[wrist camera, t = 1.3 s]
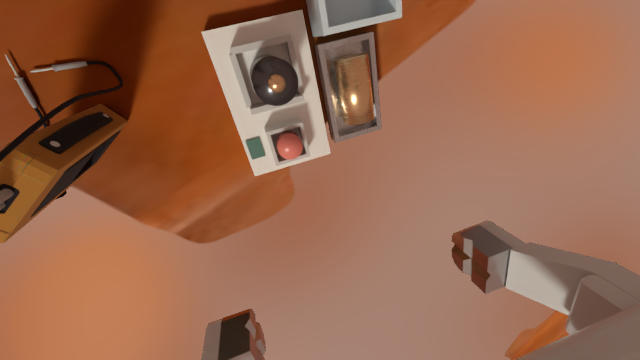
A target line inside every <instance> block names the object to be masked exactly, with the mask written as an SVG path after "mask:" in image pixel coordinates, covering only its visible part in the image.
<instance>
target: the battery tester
mask: <svg viewBox="0 0 640 360" xmlns="http://www.w3.org/2000/svg"><path fill="white" fill-rule="evenodd" d="M201 33H202V35H203V38H204V41H205V43H206V46H207V49H208V51H209V54H210V57H211V59H212V62H213V65H214V68H215V70H216V73H217V76H218V78H219V81H220V84H221V86H222V89H223V92H224V94H225V97H226V100H227V103H228V105H229V108H230V111H231V113H232V116H233V119H234V121H235V124H236V127H237V129H238V132H239V135H240V137H241V140H242V143H243V146H244V148H245V151H246V154H247V156H248V159H249V162H250V164H251V167H252V170H253V172H254V175H255V176H258V175H261V174H265V173H268V172H271V171H275V170H278V169H281V168H284V167H288V166H291V165H294V164H298V163H301V162H304V161H308V160H311V159H314V158H317V157H321V156H324V155H327V154H330V148H329V143H328V138H327V133H326V127H325V122H324V117H323V112H322V107H321V102H320V97H319V92H318V87H317V82H316V76H315V71H314V66H313V61H312V56H311V51H310V46H309V41H308V36H307V31H306V25H305V20H304V15H303V10H298V11H293V12H289V13H284V14H280V15H275V16H271V17H266V18H262V19H257V20H253V21H248V22H244V23H239V24H235V25H230V26H226V27H221V28H217V29H212V30H207V31H203V32H201ZM261 55H273V56H275V57H278V58H280V59H283V60H285V61H287V62H288V63H289V64H291V65H292V67H293V68H294V69H295V71H296V73H297V76H298V90H297V92H296V94H295V96H294V98H293V99H292V100H291V101H290V102H288V103H286V104H284V105H281V106H272V105H269V104H267V103H265V102H263V101H262V100H261V99H260V98H259V97H258V96H257V94H256V93H255V90H254V88H253V84H252V81H251V78H250V67H251V64H252V63H253V61H254V60H255V59H256V58H257V57H259V56H261ZM284 131H292V132H294V133H296V134H297V135H298V137H299V138H300V140H301V141H302V144H303V150H302V153H301V154H300V155H299V156H298V157H297V158H295V159H291V160H289V159H285V158H283V157H282V156H281V155H280V154H279V152H278V149H277V146H276V139H277V137H278V135H279V134H280V133H282V132H284Z"/></svg>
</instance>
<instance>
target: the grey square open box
mask: <svg viewBox="0 0 640 360" xmlns="http://www.w3.org/2000/svg"><path fill="white" fill-rule="evenodd" d="M306 3H307V8H308V14H309V19H310V24H311V30H312V35H313V37H317V36H326V35H330V34H335V33H339V32H343V31H347V30H351V29H356V28H360V27H364V26H368V25H372V24H377V23H381V22H385V21H389V20H393V19H398V18H402V1H401V0H306Z"/></svg>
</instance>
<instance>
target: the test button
mask: <svg viewBox="0 0 640 360" xmlns="http://www.w3.org/2000/svg"><path fill="white" fill-rule="evenodd" d="M276 146H277V149H278V152H279V154H280V155H281V156H282V157H283V158H285V159H289V160H291V159H295V158H297V157H298V156H299V155H300V154H301V153H302V150H303V144H302V141H301V140H300V138H299V137H298V135H297V134H296V133H294V132H292V131H284V132H282V133H280V134H279V135H278V137H277V139H276Z"/></svg>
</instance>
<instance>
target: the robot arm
mask: <svg viewBox="0 0 640 360" xmlns="http://www.w3.org/2000/svg"><path fill="white" fill-rule="evenodd" d="M452 242H453V243H454V244H455V245H454V247H453V248H452V258H453V260H454V263H455V264H456V266H457V267H458V268H459V269H460V270H461V271H462V272H463V273H465V274H468V275H471V280H472V282H473V283H474V284H475V285H476V286H477V287H478V288H479V289H481V290H482V291H483V292H484V293H485V294H486V293H489V292H491V291H494V290H497V289H500V288H502V287H505V286H506V288H508V289H510V290H512V291H514V292H517V293H519V294H521V295H523V296H525V297H528V298H530V299H532V300H534V301H537V302H539V303H541V304H543V305H546V306H548V307H550V308H552V309H555V310H557V311H559V312H561V313H564V314H566V315H568V320H567V323H566V331H567V332H568V333H569V334H570V335H568V336H566V337H564V338H561V339H559V340H557V341H555V342H553V343H550V344H548V345H546V346H544V347H542V348H540V349H537V350H535V351H533V352H531V353H529V354H526V355H524V356H522V357H520V358H518V359H516V360H640V275H638V274H636V273H634V272H632V271H630V270H628V269H626V268H625V267H623V266H621V265H619V264H617V263H615V262H611V261H607V260H602V259H598V258H594V257H590V256H585V255H581V254H576V253H572V252H568V251H564V250H560V249H556V248H551V247H547V246H543V245H538V244H534V243H527V244H526V243H524V242H523V241H521V240H519V239H518V238H516V237H515V236H513V235H512V234H510V233H508V232H507V231H505V230H504V229H502V228H500V227H499V226H497V225H496V224H494V223H493V222H491V221H484V222H482V223H479V224H477V225H474V226H471V227H468V228H466V229H463V230H461V231H458V232H456V233H453V235H452ZM265 351H266V346H265V339H264V334H263V331H262V328H261V325H260V323H258V322H256V318H255V313H254V311H253V310H252V309H248V310H245V311H242V312H239V313H236V314H234V315H231V316H228V317H225V318H223V319H220V320H217V321H214V322H211V323H209V324H208V326H207V328H206V333H205V340H204V346H203V353H202V359H201V360H265V359H264V357H263V355H264V353H265Z"/></svg>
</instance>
